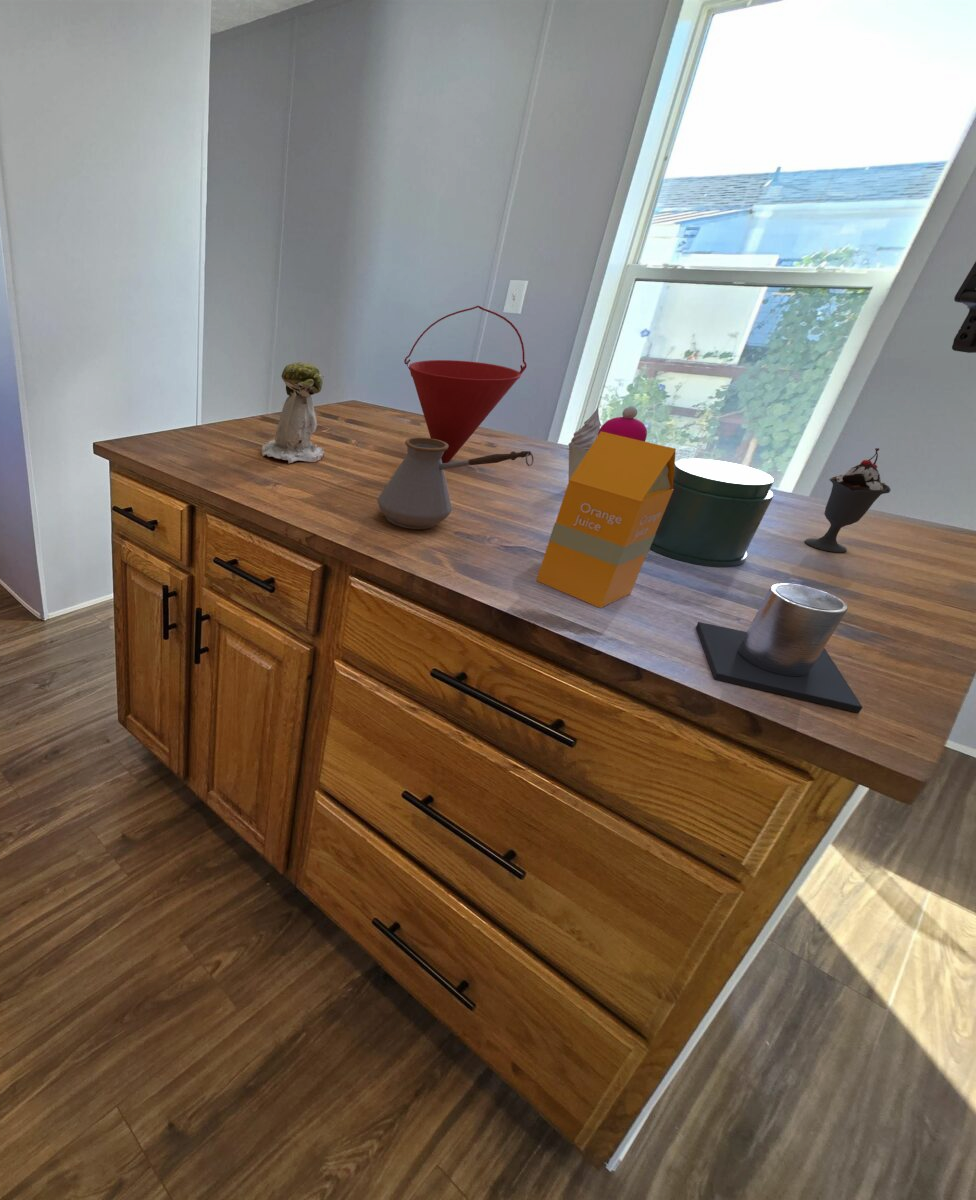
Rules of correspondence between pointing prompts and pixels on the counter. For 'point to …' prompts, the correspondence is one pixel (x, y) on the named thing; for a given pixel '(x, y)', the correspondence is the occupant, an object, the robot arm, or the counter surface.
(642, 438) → the pepper mill
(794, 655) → the silver cup
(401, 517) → the coffee pot
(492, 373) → the fire bucket
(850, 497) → the sundae
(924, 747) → the counter surface
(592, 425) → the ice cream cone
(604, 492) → the orange juice
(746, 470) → the canister
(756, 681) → the mat
